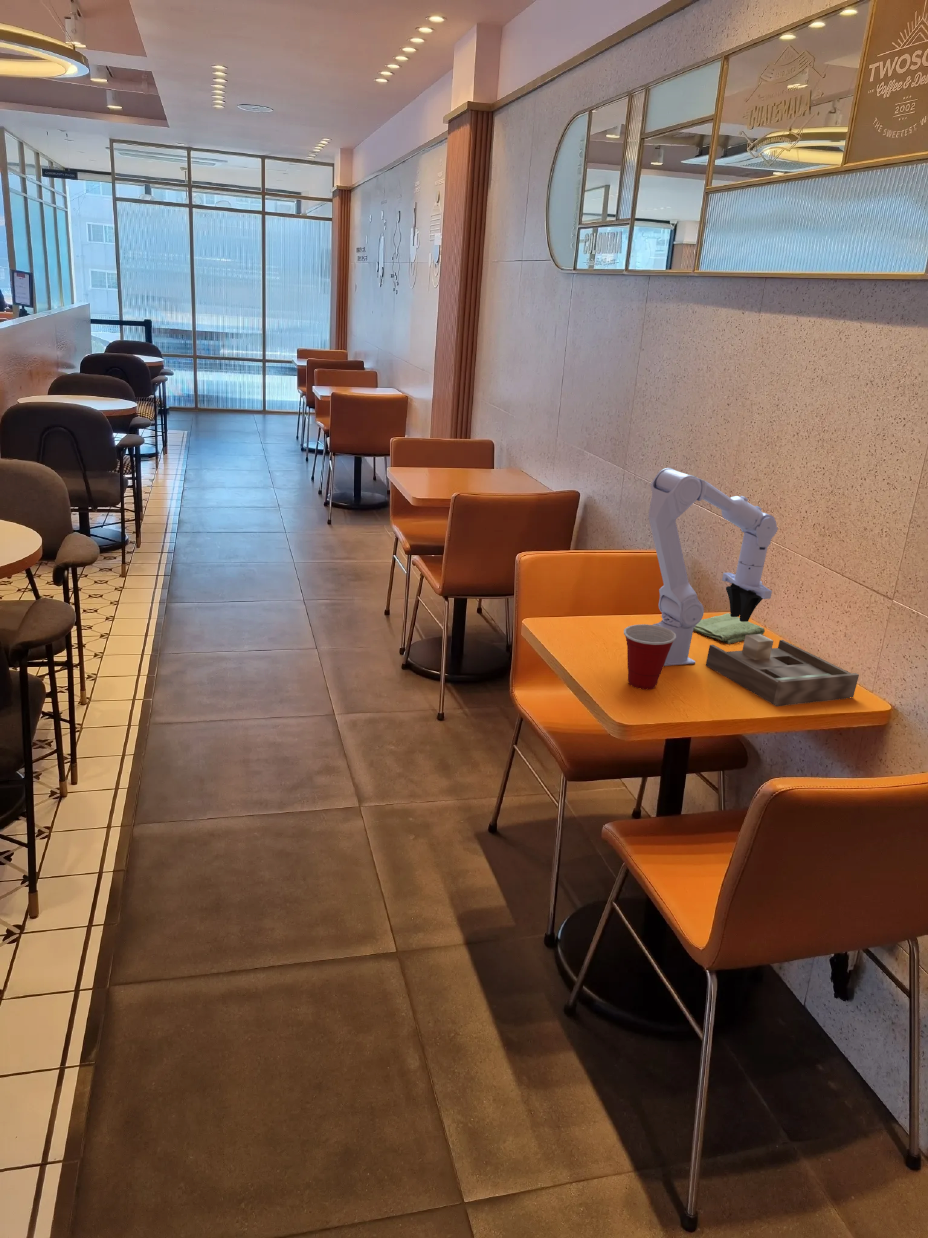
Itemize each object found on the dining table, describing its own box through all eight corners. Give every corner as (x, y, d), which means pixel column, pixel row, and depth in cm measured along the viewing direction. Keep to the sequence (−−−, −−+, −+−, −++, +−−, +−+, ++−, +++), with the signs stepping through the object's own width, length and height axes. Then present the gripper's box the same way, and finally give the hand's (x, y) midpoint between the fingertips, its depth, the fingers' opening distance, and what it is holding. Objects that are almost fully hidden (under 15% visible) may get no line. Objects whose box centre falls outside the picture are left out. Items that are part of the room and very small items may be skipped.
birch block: (754, 659, 204) (758, 641, 203) (741, 652, 208) (745, 635, 206) (769, 658, 206) (773, 640, 205) (756, 651, 210) (760, 634, 208)
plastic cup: (605, 676, 193) (614, 623, 189) (648, 673, 197) (657, 622, 194) (632, 696, 184) (642, 641, 180) (676, 693, 188) (687, 639, 184)
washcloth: (683, 630, 231) (686, 618, 230) (726, 622, 242) (729, 610, 241) (725, 647, 222) (727, 634, 221) (767, 638, 232) (770, 626, 231)
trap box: (776, 706, 187) (782, 682, 185) (705, 665, 206) (710, 642, 204) (853, 698, 196) (859, 674, 194) (778, 659, 215) (783, 637, 214)
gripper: (786, 571, 203) (773, 628, 207) (743, 554, 215) (732, 608, 219) (762, 572, 200) (750, 629, 204) (720, 554, 212) (709, 609, 216)
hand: (739, 618), depth 211 cm, fingers open, 3 cm apart
